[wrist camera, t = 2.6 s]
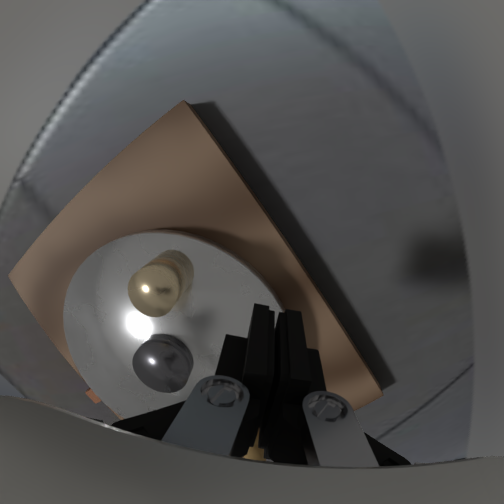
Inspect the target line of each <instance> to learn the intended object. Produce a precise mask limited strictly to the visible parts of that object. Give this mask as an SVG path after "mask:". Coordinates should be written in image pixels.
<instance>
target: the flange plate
mask: <svg viewBox="0 0 504 504" xmlns="http://www.w3.org/2000/svg"><path fill="white" fill-rule="evenodd" d="M254 303H257V304H262V305H267V306H269V310H272V311H275V326H276V322H277V318H278V314H279V312H285V309H284V307H283V304H282V302H281V301H280V299H279V298H278V296H277V294H276V293H275V291H274V289H273V288H272V287H271V286H270V284H269V283H268V282H267V281H266V279H265V278H264V277H263V276H262V275H261V274H260V273H259V272H258V271H257V270H256V269H255V268H254V267H253V266H252V265H251V264H250V263H249V262H247V261H246V260H244V259H243V258H242V257H240V256H239V255H238V254H236V253H235V252H233V251H232V250H230V249H228V248H226V247H224V246H223V245H221V244H219V243H217V242H215V241H212V240H210V239H207V238H205V237H202V236H199V235H195V234H191V233H187V232H184V231H175V230H167V229H163V230H146V231H140V232H134V233H131V234H128V235H125V236H122V237H120V238H118V239H116V240H114V241H112V242H110V243H108V244H106V245H104V246H102V247H100V248H99V249H97V250H96V251H95V252H94V253H92V254H91V255H90V256H88V257H87V259H86V260H85V261H84V262H83V263H82V264H81V265H80V266H79V268H78V269H77V271H76V272H75V274H74V276H73V277H72V280H71V282H70V284H69V287H68V289H67V293H66V297H65V301H64V310H63V322H64V331H65V337H66V341H67V345H68V348H69V351H70V354H71V356H72V359H73V361H74V363H75V365H76V367H77V369H78V371H79V372H80V374H81V376H82V377H83V379H84V380H85V382H86V383H87V384H88V386H89V389H88V390H87V391H86V392H85V393H86V394H87V395H88V396H89V397H90V398H91V399H92V400H93V402H94V403H95V404H96V403H98V402H100V401H103V402H104V403H105V404H106V405H107V406H108V407H109V408H111V409H112V410H113V411H114V412H116V413H117V414H118V415H120V416H121V417H123V418H124V419H126V418H130V417H134V416H137V415H140V414H144V413H147V412H151V411H154V410H157V409H160V408H164V407H167V406H170V405H173V404H176V403H179V402H182V401H185V400H187V398H188V397H189V395H190V393H191V392H192V390H193V388H194V387H195V385H196V384H197V383H198V382H199V381H200V380H201V379H203V378H205V377H208V376H213V375H215V372H216V369H217V365H218V361H219V357H220V354H221V350H222V346H223V343H224V339H225V335H226V334H229V335H234V336H240V337H245V338H247V336H248V331H249V326H250V321H251V316H252V311H253V307H254Z"/></svg>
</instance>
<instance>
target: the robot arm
mask: <svg viewBox="0 0 504 504" xmlns="http://www.w3.org/2000/svg"><path fill="white" fill-rule="evenodd" d="M258 430H259V440H258V448H261V449H264V459H271V460H272V461H274V462H268V461H260V460H253V459H246V458H241V457H243V456H245V455H247V453H248V450H249V447H253V446H254V443H255V440H256V437H257V434H258ZM0 504H504V457H495V456H490V457H477V458H470V459H462V460H453V461H444V462H436V463H417V462H415V464H414V465H411V463H410V462H409V461H408V460H406V459H405V458H404V457H402V456H401V455H399V454H397V453H396V452H394V451H393V450H391V449H389V448H388V447H386V446H385V445H383V444H381V443H380V442H378V441H377V440H375V439H374V438H372V437H370V436H369V435H367V434H366V433H364V432H363V430H362V427H361V425H360V423H359V421H358V419H357V417H356V415H355V412H354V410H353V408H352V406H351V405H350V403H349V402H348V401H347V400H346V399H344V398H343V397H341V396H340V395H338V394H335V393H332V392H328V391H327V390H326V384H325V379H324V374H323V369H322V364H321V359H320V354H319V351H318V350H317V349H311V348H307V344H306V338H305V331H304V325H303V319H302V313H301V311H296V310H290V309H286V310H285V312H279V314H278V318H277V322H276V326H275V311H272V310H269V306H267V305H262V304H257V303H254V307H253V311H252V316H251V321H250V326H249V331H248V336H247V338H245V337H240V336H234V335H229V334H226V335H225V339H224V343H223V346H222V350H221V354H220V357H219V361H218V365H217V369H216V372H215V375H213V376H208V377H205V378H203V379H201V380H200V381H199V382H198V383H197V384H196V385H195V387H194V388H193V390H192V392H191V393H190V395H189V397H188V398H187V400H185V401H182V402H179V403H176V404H173V405H170V406H167V407H164V408H160V409H157V410H154V411H151V412H147V413H144V414H140V415H137V416H134V417H130V418H126V419H123V420H120V421H118V422H115V423H113V424H112V425H107V424H104V422H103V420H99V419H94V418H88V417H84V416H81V415H78V414H75V413H73V412H70V411H67V410H65V409H61V408H58V407H55V406H52V405H49V404H46V403H42V402H38V401H34V400H30V399H26V398H19V397H12V396H2V395H0Z"/></svg>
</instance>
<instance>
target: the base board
mask: <svg viewBox="0 0 504 504" xmlns="http://www.w3.org/2000/svg"><path fill="white" fill-rule="evenodd" d="M163 229H167V230H175V231H184V232H187V233H191V234H195V235H199V236H202V237H205V238H207V239H210V240H212V241H215V242H217V243H219V244H221V245H223V246H224V247H226V248H228V249H230V250H232V251H233V252H235V253H236V254H238V255H239V256H240V257H242V258H243V259H244V260H246V261H247V262H249V263H250V264H251V265H252V266H253V267H254V268H255V269H256V270H257V271H258V272H259V273H260V274H261V275H262V276H263V277H264V278H265V279H266V281H267V282H268V283H269V284H270V286H271V287H272V288H273V289H274V291H275V293H276V294H277V296H278V298H279V299H280V301H281V302H282V304H283V307H284V309H285V310H286V309H290V310H296V311H301V313H302V319H303V325H304V331H305V338H306V344H307V348H311V349H317V350H318V351H319V354H320V359H321V364H322V369H323V374H324V379H325V384H326V390H327V391H328V392H332V393H335V394H338V395H340V396H341V397H343V398H344V399H346V400H347V401H348V402H349V403H350V405H351V406H352V408H353V410H354V411H355V410H357V409H359V408H361V407H363V406H365V405H367V404H369V403H371V402H373V401H374V400H376V399H378V398H380V397H382V396H383V392H382V390H381V387H380V385H379V383H378V381H377V380H376V378H375V376H374V375H373V373H372V371H371V370H370V368H369V367H368V365H367V363H366V362H365V360H364V359H363V357H362V355H361V354H360V352H359V351H358V349H357V347H356V346H355V344H354V343H353V341H352V340H351V338H350V336H349V335H348V333H347V332H346V330H345V329H344V327H343V325H342V324H341V322H340V321H339V319H338V318H337V316H336V314H335V313H334V311H333V310H332V308H331V307H330V305H329V304H328V302H327V301H326V299H325V298H324V296H323V294H322V293H321V291H320V290H319V288H318V287H317V285H316V284H315V282H314V281H313V279H312V278H311V276H310V275H309V273H308V272H307V270H306V269H305V267H304V266H303V264H302V263H301V261H300V260H299V258H298V257H297V255H296V254H295V252H294V251H293V249H292V248H291V246H290V245H289V243H288V242H287V240H286V239H285V237H284V236H283V234H282V233H281V232H280V230H279V229H278V227H277V226H276V224H275V223H274V221H273V220H272V218H271V217H270V215H269V214H268V213H267V211H266V210H265V208H264V207H263V205H262V204H261V202H260V201H259V200H258V198H257V197H256V195H255V194H254V192H253V191H252V190H251V188H250V187H249V185H248V184H247V182H246V181H245V180H244V178H243V177H242V175H241V174H240V172H239V171H238V170H237V168H236V167H235V165H234V164H233V163H232V161H231V160H230V158H229V157H228V156H227V154H226V153H225V151H224V150H223V149H222V147H221V146H220V144H219V143H218V142H217V140H216V139H215V137H214V136H213V135H212V133H211V132H210V131H209V129H208V128H207V126H206V125H205V124H204V122H203V121H202V120H201V118H200V117H199V116H198V114H197V113H196V111H195V110H194V109H193V107H192V106H191V105H190V104H189V103H187V102H186V101H184V100H183V101H181V102H180V103H179V104H177V105H176V106H175V107H174V108H172V109H171V110H170V111H168V112H167V113H166V114H165V115H163V116H162V117H161V118H160V119H159V120H157V121H156V122H155V123H154V124H152V125H151V126H150V127H149V128H148V129H146V130H145V131H144V132H143V133H142V134H141V135H139V136H138V137H137V138H136V139H135V140H134V141H132V142H131V143H130V144H129V145H128V146H127V147H126V148H125V149H123V150H122V151H121V152H120V153H119V154H118V155H117V156H116V157H115V158H114V159H113V160H111V161H110V162H109V163H108V164H107V165H106V166H105V167H104V168H103V169H102V170H101V171H100V172H99V173H98V174H97V175H96V176H95V177H94V178H93V179H92V180H91V181H90V182H89V183H88V184H87V185H86V186H85V187H84V188H83V189H82V190H81V191H80V192H79V193H78V194H77V195H76V196H75V197H74V198H73V199H72V200H71V201H70V202H69V203H68V204H67V205H66V207H65V208H64V209H63V210H62V211H61V212H60V213H59V214H58V215H57V216H56V218H55V219H54V220H53V221H52V222H51V223H50V224H49V225H48V227H47V228H46V229H45V230H44V231H43V232H42V234H41V235H40V236H39V237H38V238H37V240H36V241H35V242H34V243H33V244H32V246H31V247H30V248H29V249H28V250H27V252H26V253H25V254H24V255H23V257H22V258H21V259H20V261H19V262H18V263H17V264H16V266H15V267H14V268H13V270H12V271H11V272H10V274H9V275H8V277H9V278H10V280H11V282H12V283H13V285H14V287H15V288H16V290H17V291H18V293H19V295H20V296H21V298H22V299H23V301H24V302H25V304H26V305H27V307H28V308H29V310H30V311H31V313H32V314H33V316H34V317H35V319H36V320H37V321H38V323H39V324H40V326H41V327H42V328H43V330H44V331H45V333H46V334H47V335H48V337H49V338H50V339H51V341H52V342H53V343H54V345H55V346H56V347H57V348H58V350H59V351H60V352H61V354H62V355H63V356H64V357H65V359H66V360H67V361H68V362H69V363H70V365H71V366H72V367H73V368H74V370H75V371H76V372H77V373H78V374H79V375H80V377H81V378H82V379H83V377H82V376H81V374H80V372H79V371H78V369H77V367H76V365H75V363H74V361H73V359H72V356H71V354H70V351H69V348H68V345H67V341H66V337H65V331H64V322H63V310H64V301H65V297H66V293H67V289H68V287H69V284H70V282H71V280H72V277H73V276H74V274H75V272H76V271H77V269H78V268H79V266H80V265H81V264H82V263H83V262H84V261H85V260H86V259H87V257H88V256H90V255H91V254H92V253H94V252H95V251H96V250H97V249H99V248H100V247H102V246H104V245H106V244H108V243H110V242H112V241H114V240H116V239H118V238H120V237H122V236H125V235H128V234H131V233H134V232H140V231H146V230H163ZM83 380H84V379H83ZM84 381H85V380H84ZM87 385H88V384H87ZM110 409H111V408H110ZM111 410H112V409H111ZM112 411H113V410H112ZM113 412H114V411H113ZM114 413H115V414H116V415H117V416H118V417H119V418H120V419H121V420H123V419H124V418H123V417H121V416H120V415H118V414H117V413H116V412H114ZM258 440H259V430H258V434H257V437H256V440H255V443H254V446H253V447H249V450H248V453H247V455H245V456H243V457H244V458H246V459H253V460H260V461H266V459H264V449H261V448H258ZM241 458H242V457H241Z"/></svg>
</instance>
